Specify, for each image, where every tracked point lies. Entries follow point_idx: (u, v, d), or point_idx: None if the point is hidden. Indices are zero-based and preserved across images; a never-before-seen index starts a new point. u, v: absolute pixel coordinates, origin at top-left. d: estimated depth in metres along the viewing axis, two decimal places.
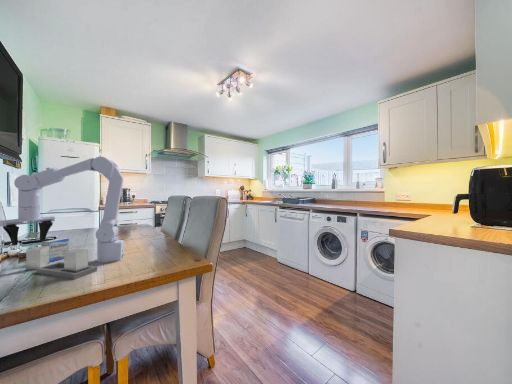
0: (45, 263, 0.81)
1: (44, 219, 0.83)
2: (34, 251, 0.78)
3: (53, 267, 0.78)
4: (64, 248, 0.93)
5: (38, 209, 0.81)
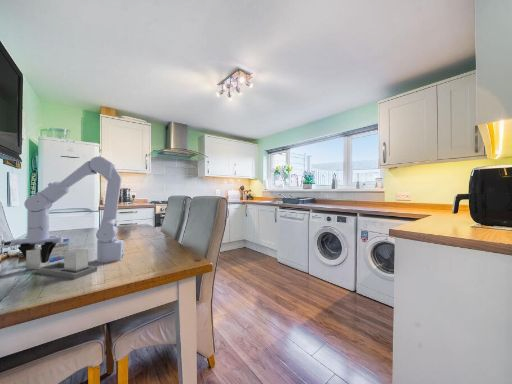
0: (45, 263, 0.81)
1: (47, 240, 0.80)
2: (34, 251, 0.78)
3: (53, 267, 0.78)
4: (64, 248, 0.93)
5: (40, 230, 0.79)
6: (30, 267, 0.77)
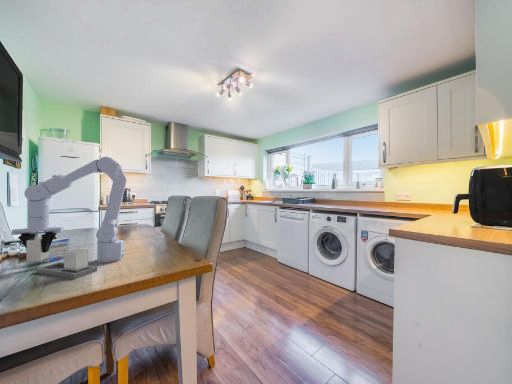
0: (45, 253, 0.81)
1: (47, 230, 0.80)
2: (34, 241, 0.78)
3: (53, 267, 0.78)
4: (64, 248, 0.93)
5: (40, 220, 0.79)
6: (30, 257, 0.77)
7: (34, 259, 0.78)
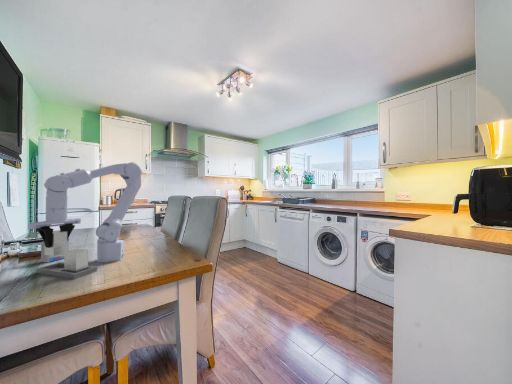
0: None
1: (71, 221, 0.80)
2: (61, 233, 0.76)
3: (53, 267, 0.78)
4: None
5: (66, 211, 0.78)
6: (57, 250, 0.75)
7: (61, 252, 0.76)
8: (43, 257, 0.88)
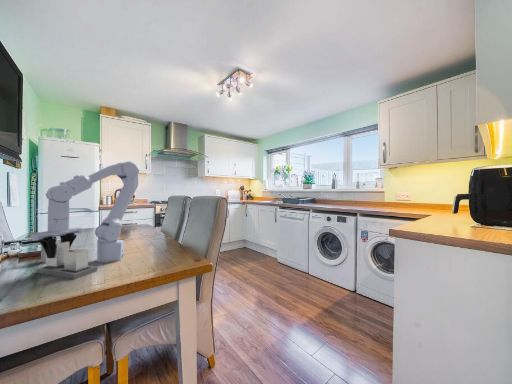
0: None
1: (73, 231, 0.79)
2: (64, 243, 0.76)
3: (53, 267, 0.78)
4: None
5: (68, 221, 0.78)
6: (60, 261, 0.75)
7: None
8: (43, 257, 0.88)
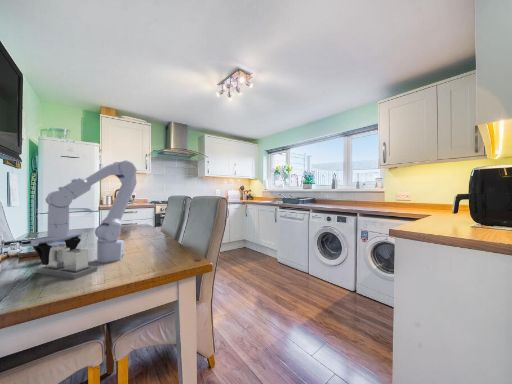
0: None
1: (73, 236, 0.79)
2: (64, 250, 0.76)
3: None
4: None
5: (68, 226, 0.77)
6: (60, 267, 0.75)
7: None
8: None
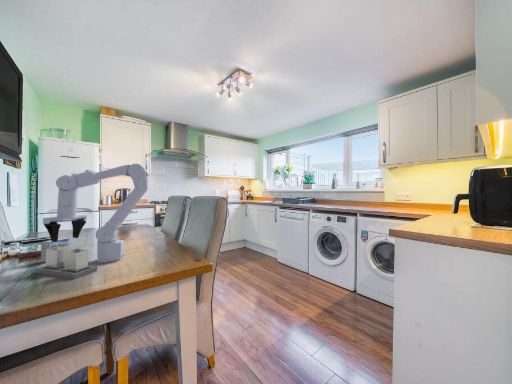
0: None
1: (79, 217, 0.88)
2: (64, 250, 0.76)
3: None
4: None
5: (75, 208, 0.86)
6: (60, 267, 0.75)
7: None
8: (43, 257, 0.88)
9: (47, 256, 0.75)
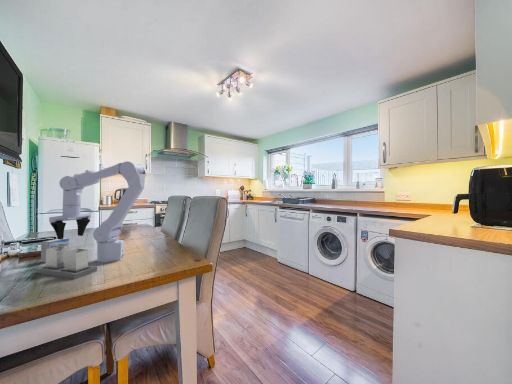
0: None
1: (83, 216, 0.92)
2: (64, 250, 0.76)
3: None
4: None
5: (80, 207, 0.90)
6: (60, 267, 0.75)
7: None
8: (43, 257, 0.88)
9: (47, 256, 0.75)
